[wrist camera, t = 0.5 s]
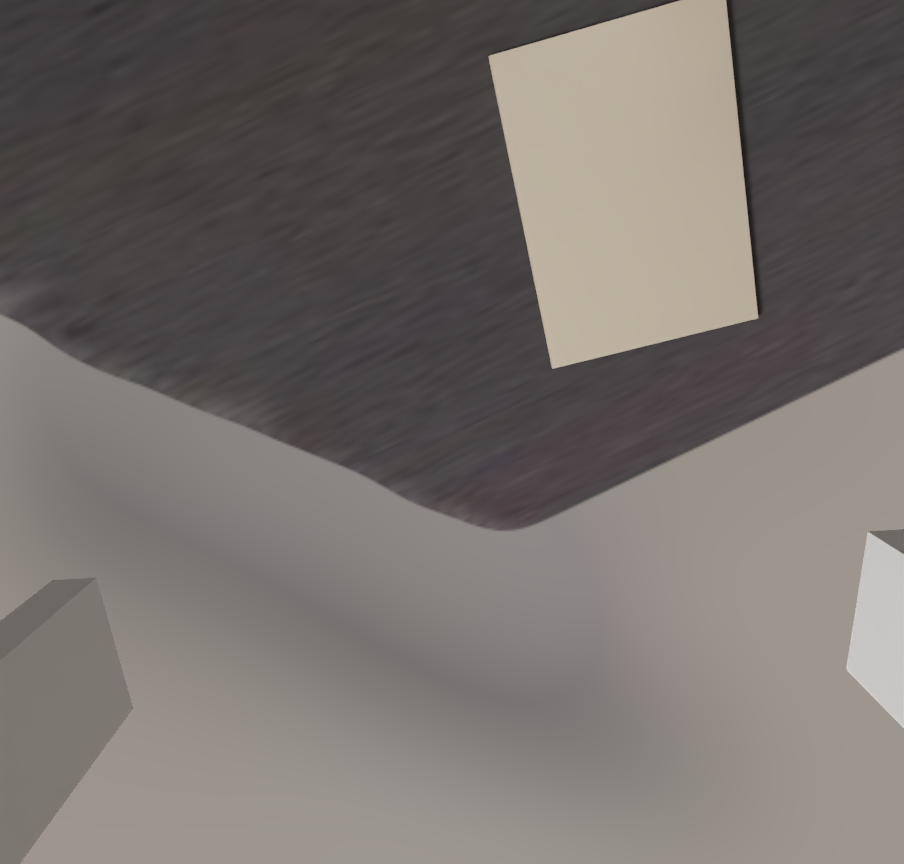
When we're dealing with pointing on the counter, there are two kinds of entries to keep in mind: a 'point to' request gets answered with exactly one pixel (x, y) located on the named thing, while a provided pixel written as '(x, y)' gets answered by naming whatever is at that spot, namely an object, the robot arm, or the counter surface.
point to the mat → (630, 179)
